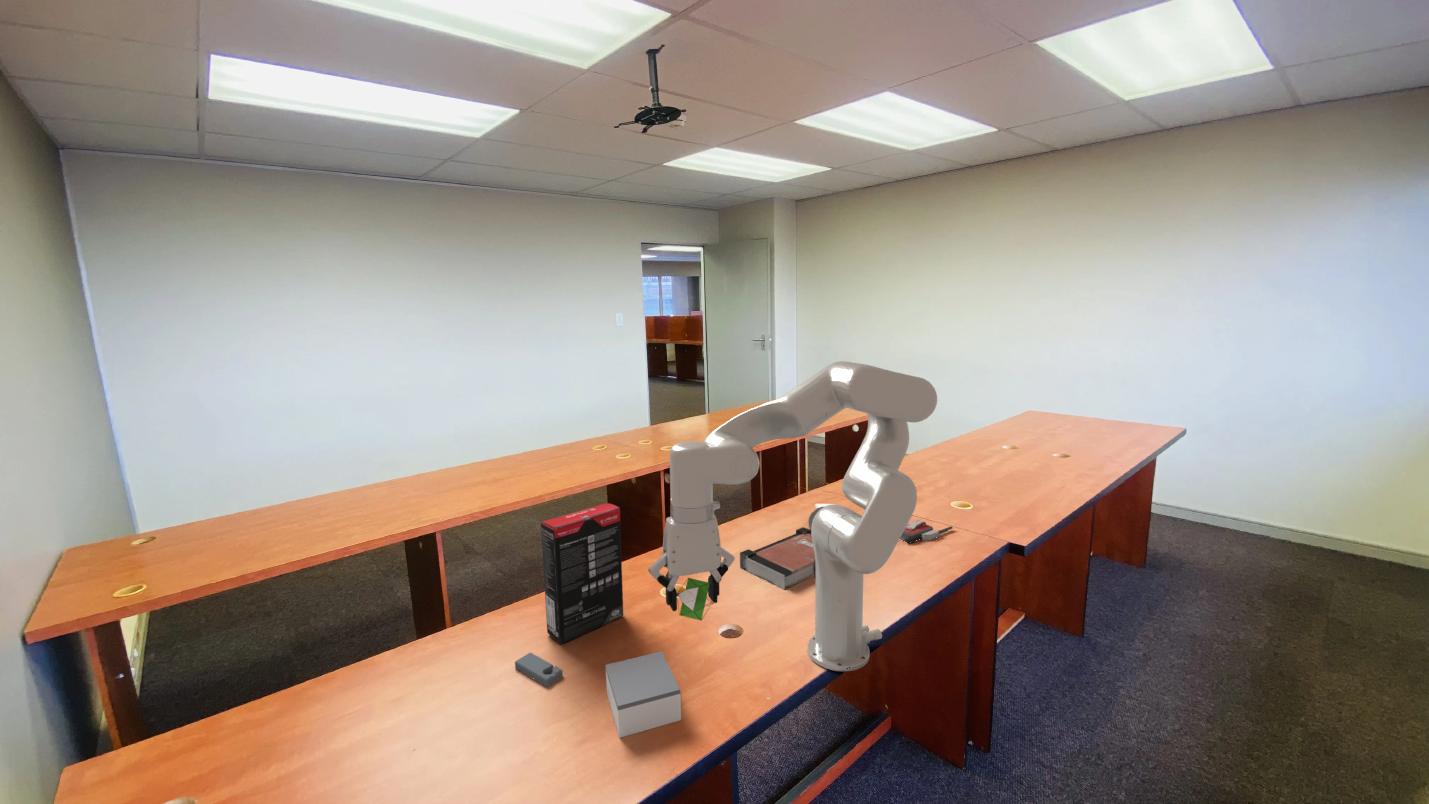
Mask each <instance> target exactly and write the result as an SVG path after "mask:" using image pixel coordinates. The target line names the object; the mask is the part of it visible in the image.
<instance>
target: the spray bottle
mask: <svg viewBox="0 0 1429 804" xmlns="http://www.w3.org/2000/svg"><path fill="white" fill-rule="evenodd" d="M828 505H837V504H835V503H815V504H814V508H815V510H813V512H811V513H810V514H809V517H808V529H809V530H811V527H812V522H813V519H814V517H815V515H816V513H817V512H818V511H819V510H820V509H822V508H823V507H825V506H828Z"/></svg>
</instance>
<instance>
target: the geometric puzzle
mask: <svg viewBox="0 0 1429 804" xmlns="http://www.w3.org/2000/svg"><path fill="white" fill-rule="evenodd" d="M685 584H686V585H685ZM709 584H710V583H708V581H704V580H700V579H695V578H692V577H689V576H688V577H687V579H686V581H685V582H684V583H683V585H682V586H681V587H680V589H679V591H678V592H677V602H679V600H681V605H679V604H677V610H679V613H678V616H681V617H685V618H688V619H693V620H698V621H700V622H702V621H703V619H704V617H705V615H706V614H707V612H709V610H710V609H711V607H712V605H714V604H715V603H713V602H712V600H710V601H709V602H708V603H707V604H706V602H707V601H706V600H707V599H708V589H709ZM684 585H685V589H684V590H683V591H681V589H682V588H683V586H684ZM710 588H711V587H710ZM711 593H712V592H711ZM712 599H713V598H712ZM679 606H681V607H679ZM707 607H708V608H707ZM705 608H707V609H706V612H705V613H704V611H705ZM703 614H704V615H703Z"/></svg>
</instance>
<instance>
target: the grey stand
mask: <svg viewBox="0 0 1429 804" xmlns="http://www.w3.org/2000/svg"><path fill="white" fill-rule="evenodd" d="M604 666H605V677H606V678H605V682H606V694H607V695H606V696H607V698H608V701H609V705H610V708H611V713H612V716H613V719H614V724H615V726H616V730H617V734H618V737H619V738H623V737H627V736H631V735H635V734H638V733H641V732H645V731H648V730H652V729H656V728H659V727H662V726H666V725H668V724H673V723H676V722H679V721H682V701H681V699H682V698H681V689H680V687H679V684H678V682H677V680H676V677H675V675H674V674H673V672H672V669H671V668H670V665H669V663H668V661H667V659H666V657H665V654H664V652H663V651H658V652H653V653H649V654H645V655H641V656H637V657H633V658H628V659H624V660H620V661H615V662H611V663H608V664H605V665H604Z"/></svg>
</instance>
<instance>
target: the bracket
mask: <svg viewBox="0 0 1429 804" xmlns="http://www.w3.org/2000/svg"><path fill="white" fill-rule="evenodd" d="M514 668H515V670H517V669H518V671H519V670H520V671H519V672H521V673H522V672H523V674H524V675H526V676H527V675H528V677H529V676H530V678H531V677H532V678H531V679H533V678H534V679H535V680H534V679H533V680H534V681H536V680H537V681H536V682H538V681H539V682H540V683H539V682H538V683H539V684H541V683H542V684H541V685H543V686H544V685H545V687H546V688H547V687H549V685H550V686H551V685H553V684H554V683H555V682H557V681H558V679H559V680H560V679H561V677H562V678H563V677H564V676H563V669H562V668H560V667H558V666H554V664H552V663H550V662H549V661H547V660H545V659H543V658H541V657H539V656H538V655H535V654H534V653H532V652H528V653H526V654H525V655H523V656H521V657H520V658H519V659H516V660H515V661H514ZM552 683H553V684H552Z"/></svg>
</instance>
